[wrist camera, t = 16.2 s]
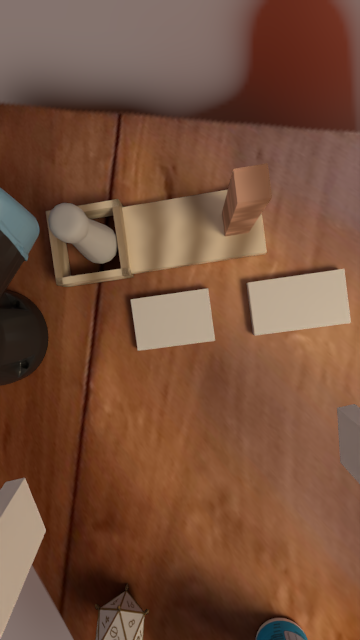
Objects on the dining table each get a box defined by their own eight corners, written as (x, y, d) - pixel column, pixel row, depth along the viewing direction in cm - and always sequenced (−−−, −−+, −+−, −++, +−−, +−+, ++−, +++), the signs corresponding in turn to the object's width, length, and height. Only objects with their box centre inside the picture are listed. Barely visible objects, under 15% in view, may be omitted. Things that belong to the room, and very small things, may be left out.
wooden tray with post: (66, 287, 42) (7, 275, 29) (56, 218, 42) (-9, 175, 29) (265, 257, 40) (298, 230, 27) (255, 185, 40) (285, 122, 26)
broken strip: (139, 349, 42) (137, 350, 41) (132, 299, 42) (130, 299, 40) (346, 322, 40) (350, 322, 38) (339, 270, 39) (344, 268, 38)
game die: (121, 575, 47) (72, 606, 39) (157, 574, 44) (111, 607, 36) (127, 647, 43) (73, 698, 35) (167, 653, 39) (117, 710, 32)
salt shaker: (104, 221, 41) (63, 181, 29) (130, 247, 41) (100, 217, 28) (79, 248, 42) (27, 220, 29) (104, 273, 42) (63, 256, 29)
